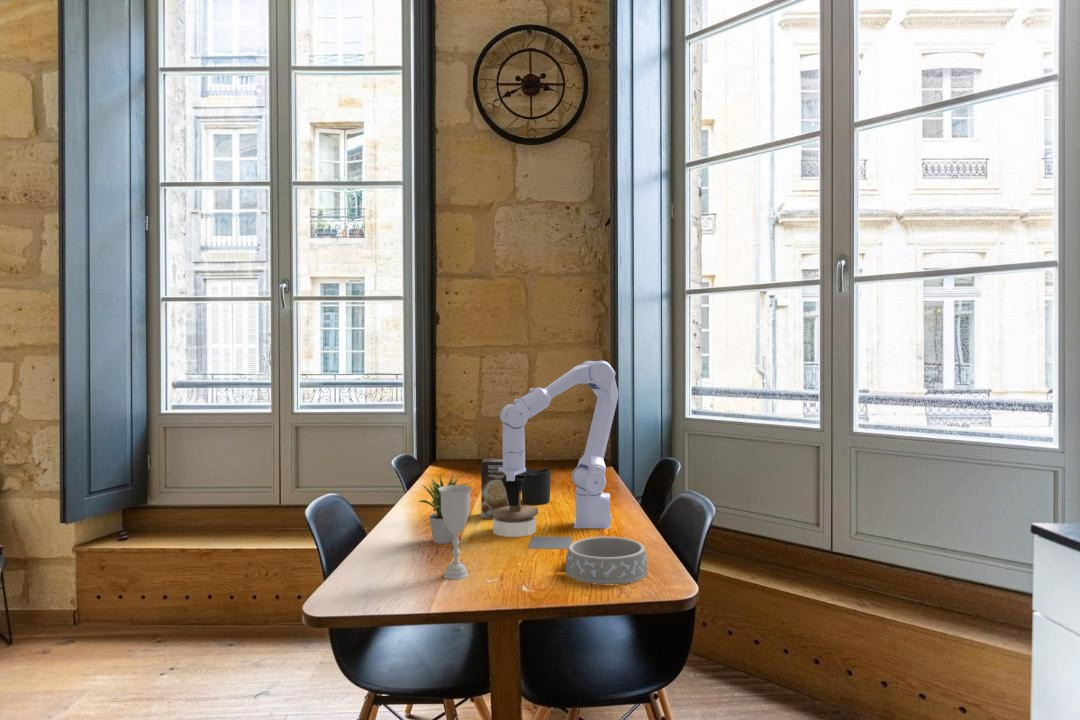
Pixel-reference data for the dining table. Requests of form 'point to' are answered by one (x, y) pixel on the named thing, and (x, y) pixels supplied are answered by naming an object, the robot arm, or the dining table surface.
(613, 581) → the dog bowl
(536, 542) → the coaster
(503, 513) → the lid
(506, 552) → the dining table surface
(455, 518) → the chalice
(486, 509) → the coffee box
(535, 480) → the pen holder
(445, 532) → the house plant
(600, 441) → the robot arm
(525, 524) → the bowl
